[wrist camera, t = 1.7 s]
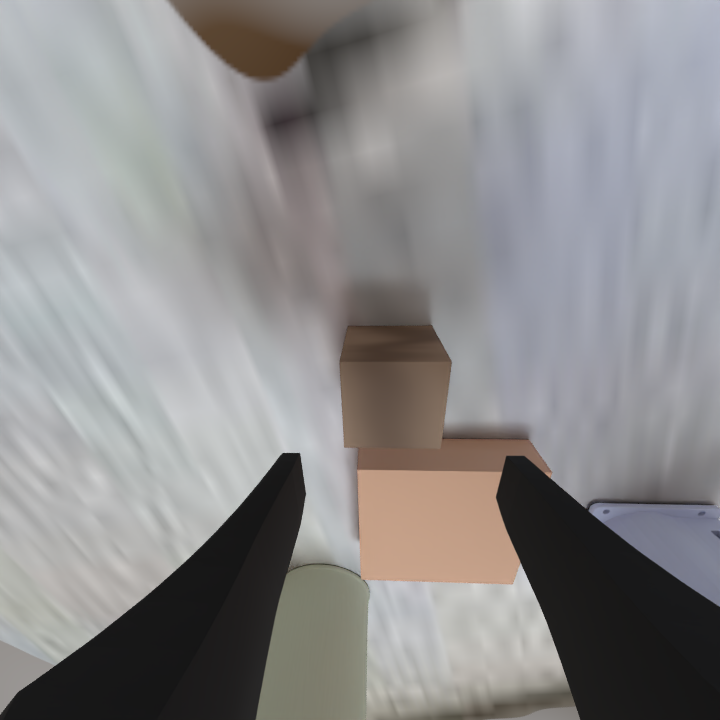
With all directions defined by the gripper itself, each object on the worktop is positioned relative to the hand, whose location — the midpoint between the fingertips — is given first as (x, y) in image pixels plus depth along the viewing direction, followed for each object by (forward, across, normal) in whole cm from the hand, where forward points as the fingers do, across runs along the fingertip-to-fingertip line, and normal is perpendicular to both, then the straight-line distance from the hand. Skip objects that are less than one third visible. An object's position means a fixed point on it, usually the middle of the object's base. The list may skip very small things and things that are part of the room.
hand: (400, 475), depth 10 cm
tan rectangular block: (+9, -4, +12) cm, 16 cm away
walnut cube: (+9, 0, 0) cm, 9 cm away
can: (+9, +6, +26) cm, 28 cm away
